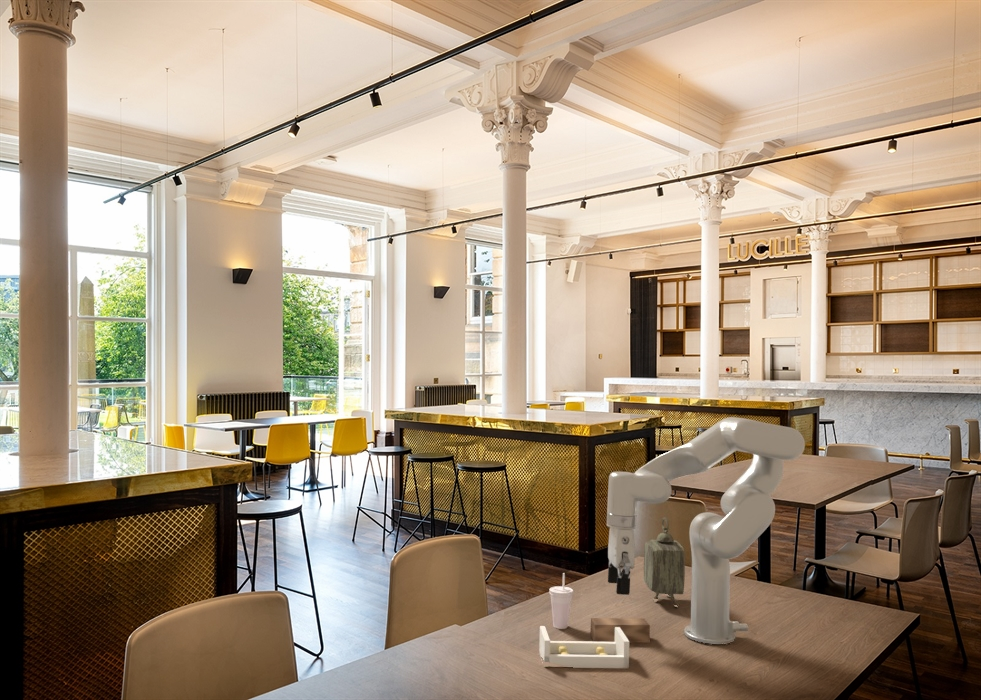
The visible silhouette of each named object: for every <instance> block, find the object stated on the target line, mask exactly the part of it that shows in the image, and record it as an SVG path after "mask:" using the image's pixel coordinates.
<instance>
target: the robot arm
mask: <svg viewBox="0 0 981 700" xmlns="http://www.w3.org/2000/svg"><path fill="white" fill-rule="evenodd" d="M805 445H806V442H805V439H804V436H803V435H802V434H801V432H800V431H799V430H797V429H795V428H794V427H790V426H785V425H784V426H783V425H779V424H773V423H768V422H767V423H766V422H763V421H758V420H754V419H750V418H743V417H737V416H736V417H735V416H730V417H729V416H728V417H725V418H723V419H721V420H719V421H717V422H716V423H715V424H713V425H712V426H711V427H709V428H708V429H706V430H704V431H702V433H700V434H698V435H697V436H695V437H694V438H693V439H691V440H689V441H688V442H687V443H684V444H682V445H680V446H678V447H677V446H676V447H675V448H673V449H671V450H669V451H668V452H667V451H666V452H665V453H663V454H660V455H659V456H657V457H655V458H653V459H651V460H650V461H648V462H647V463H646V464H644V465H643V466H641V467H639V468H638V469H637V470H636V471H635V472H629V471H612V472H610V474H609V476H608V484H607V485H608V486H607V487H608V490H607V509H606V526H607V527H609V530H608V531H609V533H608V546H607V558H608V569H607V570H608V571H607V583H608V584H616V589H615V590H616V591H615V592H616V594H617V595H620V596H621V595H624V596H625V595H626V596H628V595H630V589H631V570H634V568H635V562H636V561H635V553H636V551H635V549H636V548H635V547H636V546H635V544H636V542H635V540H636V539H635V529H637V519H638V502H641V503H646V504H653V505H660V504H663V503H665V502H666V501H667V500H669V499H670V497H671V494H672V485H671V484H670V482H671V481H673V480H676V479H678V478H680V477H681V478H682V477H684V476H688V475H697V474H701V473H704V472H706V471H708V470H710V469H712V468H713V467H714V466H716V465H717V464H718V463H720V462H721V461H722V460H725V459H726V458H727V457H729V456H730V455H732V454H733V453H735V452H736V451H737V452H742V453H746V454H747V453H748V454H751V455H752V460H751V463H750V464H749V465H750V466H748V468H746V470H745V471H744V472H743V473H742V475H741V476H739V478H738V479H736V481H734V483H732V485H731V486H730V487H728V489H727V490H726V491H725V492H724V494H723V495H722V496H721V499H720V508H721V510H722V512H723V513H724V514H725V516H722V515H720V514H717V513H715V512H708V511H707V512H701V513H698V514H697V515H696V516H695V517H694V518H693V519H692V520H691V522H690V526H689V543H690V551H691V581H690V582H691V585H690V586H691V589H690V590H691V591H690V592H691V595H690V601H691V602H690V624H688V625H686V626H685V627H684V630H683V631H684V635H685V636H686V637H687V639H690V640H693V641H694V640H695V642H697V641H698V643H701V642H703V643H702V644H705V643H711V644H710V645H712V644H722V643H723V644H724V643H729V642H731V641H733V640H734V639H735V640H736V634H735V633H736V632H748V631H749V626H748V624H747V623H739V621H736V620H735V621H733V620H731V619H730V595H731V594H730V591H731V589H730V584H731V583H730V582H731V581H730V580H731V563H730V560H732V559H735V558H738V557H739V556H741V555H742V554H743V553H745V551H746V550H747V549H749V547H750V546H751V545H753V543H754V542H755V541H756V540H757V539H758V538H759V537H760V536H761V535H762V534H763V533H764V532H765V531H766V530H767V528H768V527H770V525H771V524H772V522H773V519H774V518H775V513H776V505H775V501H774V500H773V498H772V496H771V495H772V494H773V493H774V492H775V491H776V489H777V488H778V487H779V485H780V484H781V482H782V480H783V476H784V461H794V460H796V459H798V458H799V457H801V455H802V454H803V453H804V451H805V447H806V446H805Z"/></svg>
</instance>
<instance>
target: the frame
mask: <svg viewBox="0 0 981 700" xmlns="http://www.w3.org/2000/svg"><path fill="white" fill-rule="evenodd" d="M538 642H539V644H538V649H539V650H538V653H539V655H540V658H541V657H542V658H543V660H544V662H549V663H556V664H561V665H564V666H568V667H573V669H576V668H578V669H580V668H581V669H629V667H630V664H629V663H630V642H629V640H628V639H627V637H626V636H625V634H624V633H623V631H622V630H621V628H620V627H615V641H614V642H594V640H593V641H592V640H591V641H588V640H587V641H586V640H585V641H584V640H581V641H578V640H574V641H573V640H570V641H569V640H551V639H550V636H549V634H548V631H547V628H546V626H545V625H540V626H539V641H538Z"/></svg>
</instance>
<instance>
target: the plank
mask: <svg viewBox="0 0 981 700" xmlns="http://www.w3.org/2000/svg"><path fill="white" fill-rule="evenodd" d="M615 627H620V628H621V630H622V631H623V633H624V634H625V636H626V637H627V639H628V640H629V643H650V639H651V638H650V637H651V636H650V634H651V633H650V631H651V630H650V629H651V628H650V627H651V625H650V624H649V622H648V621H647V620H646V619H645V618H636V617H635V618H632V617H630V618H625V617H624V618H622V617H620V618H619V617H615V618H613V617H612V618H611V617H609V618H608V617H605V618H604V617H591V618H590V633H589V634H590V636H591V638H592V640H593V642H614V641H615Z"/></svg>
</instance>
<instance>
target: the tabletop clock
mask: <svg viewBox="0 0 981 700" xmlns="http://www.w3.org/2000/svg"><path fill="white" fill-rule="evenodd" d="M664 523H666V526H664ZM661 524H662V526H661V527H662V528H661V529H662V532H660V533H659V534H658V535H657V537H656V539H650V540H648V541H645V542H644V548H643V580H644V583H645V585H646V587H647V588H648V589H649V590H650V591H652V592H654V593H655V596H653V598H654V599H658V598H659V595H661V594H663V595H665V594H668V595H669V597H670V598H671V600H672V602H673V604H674V605H677V606H678V605H679V606H680V604H679V603H678V602H677V601H676V600H675V596H674V595H683V594H684V591H685V576H686V570H685V569H686V561H685V560H686V559H685V557H686V556H685V549H684V547H683V546H682V545H681V543H680V542H679V541H677V540H674V537H673V535H672V534H670V533H668V532H669V530H670V529H669V525H670V524H669V520H668V518H667V517H665V516H664V517H663V518H662V519H661Z"/></svg>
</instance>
